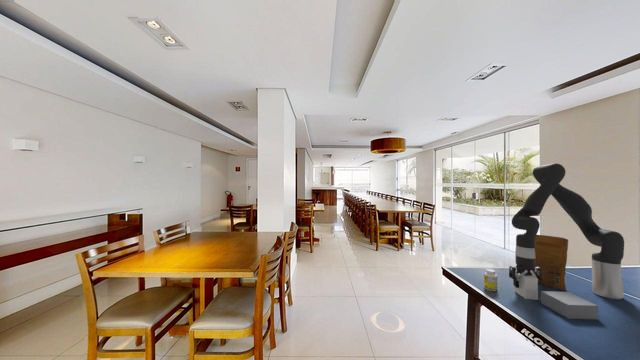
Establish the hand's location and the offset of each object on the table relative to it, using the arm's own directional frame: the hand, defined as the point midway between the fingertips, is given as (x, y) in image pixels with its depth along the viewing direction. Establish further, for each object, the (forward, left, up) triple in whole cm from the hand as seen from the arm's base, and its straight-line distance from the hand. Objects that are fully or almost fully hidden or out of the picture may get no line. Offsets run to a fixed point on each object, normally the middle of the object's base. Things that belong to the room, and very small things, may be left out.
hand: (525, 287), depth 113 cm
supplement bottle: (+13, -6, -4) cm, 15 cm away
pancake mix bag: (-22, -14, -4) cm, 26 cm away
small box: (0, 0, -4) cm, 4 cm away
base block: (-7, +13, -4) cm, 16 cm away
